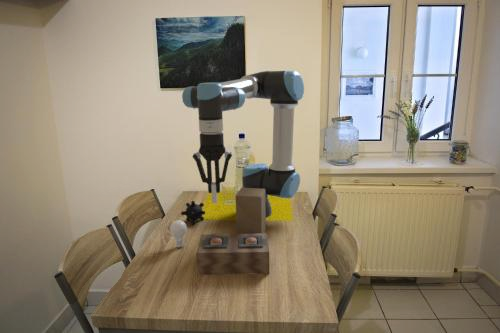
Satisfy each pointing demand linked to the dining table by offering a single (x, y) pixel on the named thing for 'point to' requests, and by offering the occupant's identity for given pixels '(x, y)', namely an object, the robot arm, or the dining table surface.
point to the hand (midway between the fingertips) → (214, 201)
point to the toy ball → (194, 212)
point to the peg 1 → (216, 241)
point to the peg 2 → (250, 240)
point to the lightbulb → (178, 232)
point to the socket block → (233, 255)
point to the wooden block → (250, 211)
